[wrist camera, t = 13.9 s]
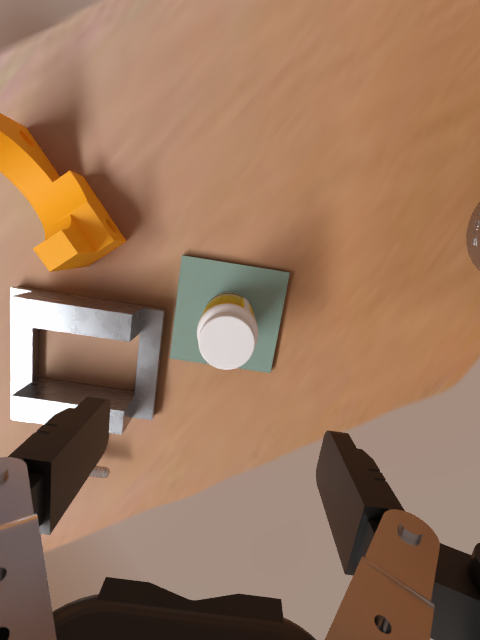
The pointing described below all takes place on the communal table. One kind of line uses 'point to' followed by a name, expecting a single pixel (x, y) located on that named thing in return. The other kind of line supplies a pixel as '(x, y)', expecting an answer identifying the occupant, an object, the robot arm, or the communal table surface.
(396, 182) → the communal table surface
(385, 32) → the communal table surface
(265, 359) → the mat
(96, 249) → the pipe clamp
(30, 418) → the vise
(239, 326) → the supplement bottle
